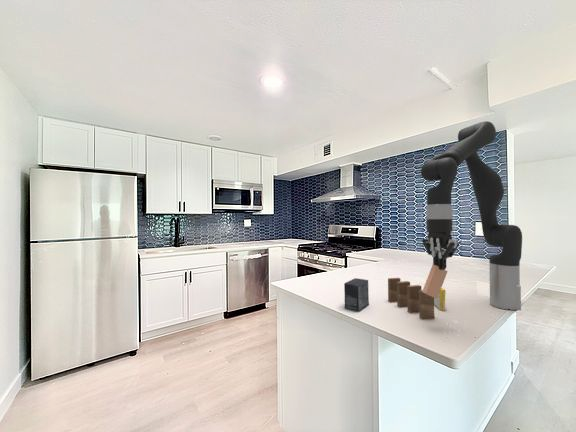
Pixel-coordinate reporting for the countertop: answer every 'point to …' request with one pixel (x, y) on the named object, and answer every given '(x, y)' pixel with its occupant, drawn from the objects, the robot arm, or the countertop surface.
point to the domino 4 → (426, 306)
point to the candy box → (440, 300)
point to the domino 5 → (434, 281)
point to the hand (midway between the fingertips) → (439, 268)
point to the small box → (356, 294)
